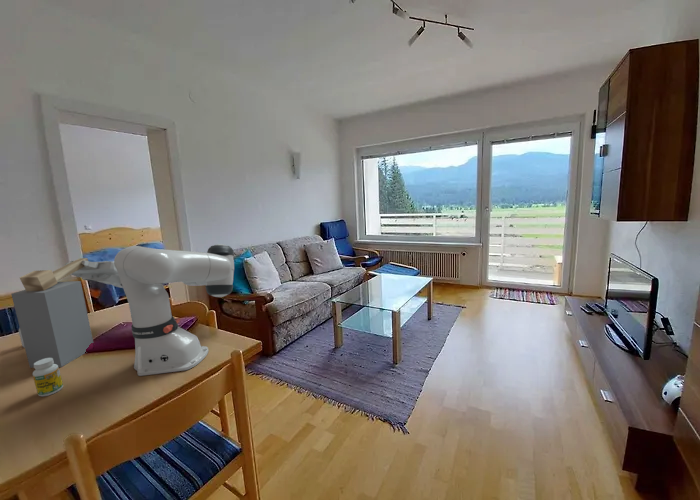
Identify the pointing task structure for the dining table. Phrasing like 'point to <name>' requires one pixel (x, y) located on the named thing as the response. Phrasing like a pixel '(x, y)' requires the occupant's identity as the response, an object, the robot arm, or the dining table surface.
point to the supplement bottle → (47, 377)
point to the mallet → (49, 276)
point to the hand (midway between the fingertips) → (77, 262)
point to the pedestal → (53, 322)
